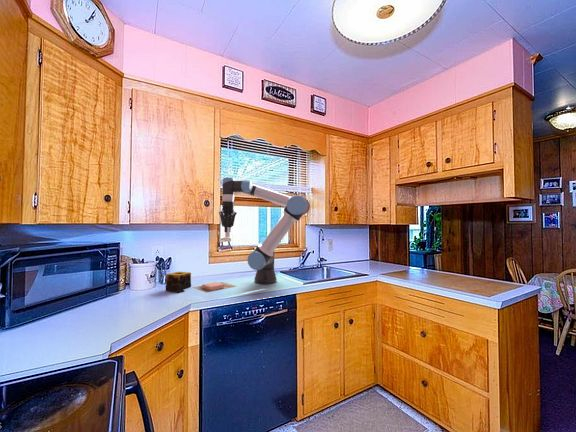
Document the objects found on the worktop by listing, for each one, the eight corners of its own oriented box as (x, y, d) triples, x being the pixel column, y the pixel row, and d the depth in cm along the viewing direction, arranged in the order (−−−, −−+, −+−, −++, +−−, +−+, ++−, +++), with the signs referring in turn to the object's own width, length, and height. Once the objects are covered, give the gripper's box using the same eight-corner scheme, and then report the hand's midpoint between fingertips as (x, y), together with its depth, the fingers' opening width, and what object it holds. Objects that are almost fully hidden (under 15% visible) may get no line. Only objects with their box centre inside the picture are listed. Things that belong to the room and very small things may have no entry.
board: (222, 283, 171) (222, 282, 171) (237, 288, 160) (237, 286, 160) (192, 289, 156) (192, 287, 156) (206, 294, 145) (206, 292, 145)
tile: (215, 281, 161) (202, 284, 155) (224, 284, 155) (210, 286, 148) (215, 285, 161) (202, 288, 155) (224, 288, 155) (210, 290, 148)
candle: (178, 293, 147) (178, 275, 147) (164, 291, 151) (165, 274, 151) (191, 289, 157) (191, 272, 157) (178, 287, 160) (178, 271, 161)
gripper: (232, 202, 181) (231, 236, 180) (216, 200, 171) (215, 237, 170) (239, 201, 176) (238, 237, 175) (223, 200, 166) (222, 237, 165)
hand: (227, 237), depth 173 cm, fingers closed
